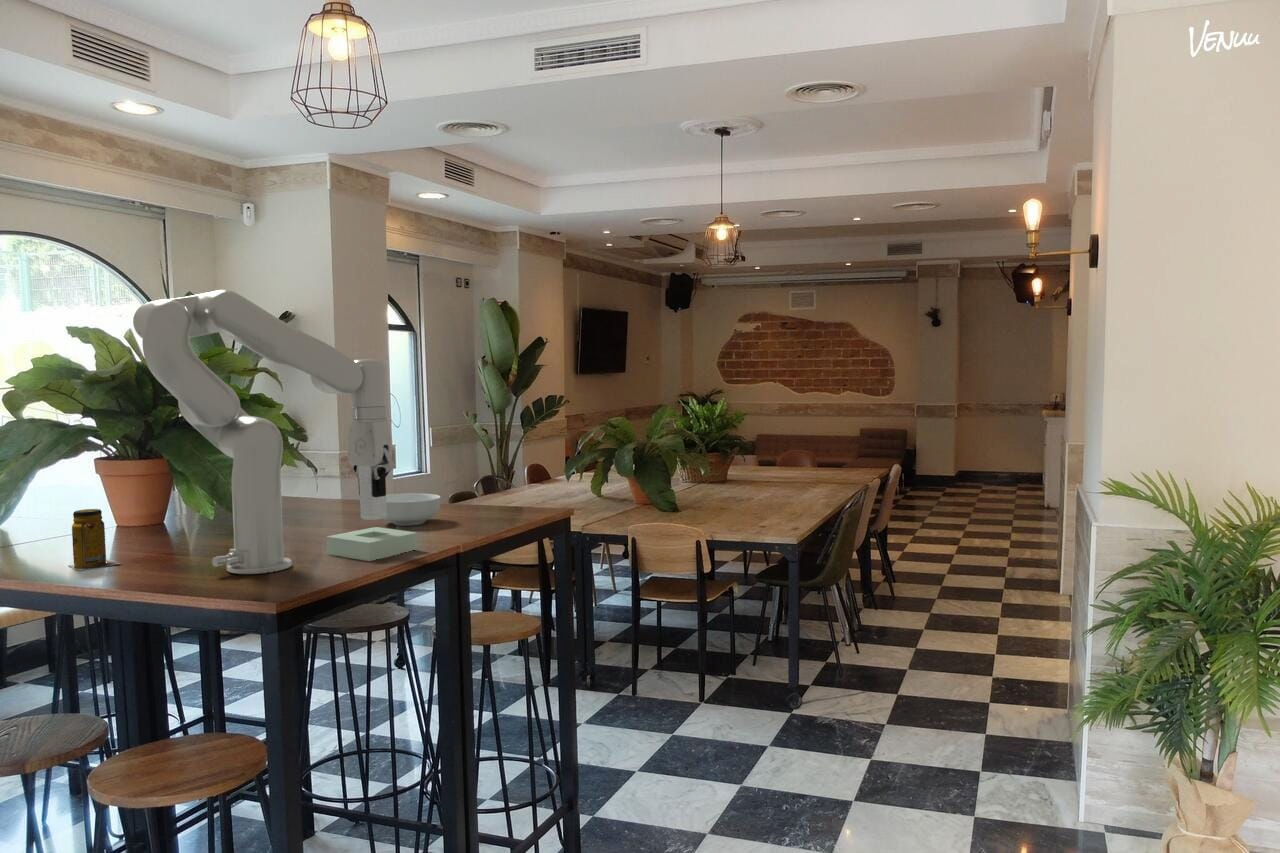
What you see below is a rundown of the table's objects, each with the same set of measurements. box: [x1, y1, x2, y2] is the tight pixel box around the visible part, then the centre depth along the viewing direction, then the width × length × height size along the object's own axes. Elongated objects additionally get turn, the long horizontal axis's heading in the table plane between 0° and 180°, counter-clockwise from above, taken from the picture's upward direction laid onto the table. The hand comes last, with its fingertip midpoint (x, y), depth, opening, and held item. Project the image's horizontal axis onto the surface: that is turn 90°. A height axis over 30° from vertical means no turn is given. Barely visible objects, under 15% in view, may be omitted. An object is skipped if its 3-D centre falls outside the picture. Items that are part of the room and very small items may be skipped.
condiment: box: [68, 508, 122, 571], centre depth 204 cm, size 7×8×12 cm
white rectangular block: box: [358, 463, 387, 521], centre depth 216 cm, size 4×4×14 cm
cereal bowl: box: [383, 492, 442, 526], centre depth 254 cm, size 17×17×7 cm
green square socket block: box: [326, 526, 419, 562], centre depth 216 cm, size 14×14×4 cm
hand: (372, 494), depth 216 cm, fingers closed on white rectangular block, 4 cm apart
